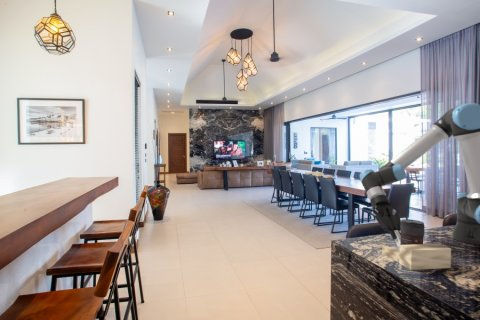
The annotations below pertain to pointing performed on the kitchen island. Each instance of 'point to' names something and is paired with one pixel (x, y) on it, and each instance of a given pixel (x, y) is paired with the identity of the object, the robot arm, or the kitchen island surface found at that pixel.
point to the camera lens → (411, 232)
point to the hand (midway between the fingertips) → (401, 246)
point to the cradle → (421, 256)
